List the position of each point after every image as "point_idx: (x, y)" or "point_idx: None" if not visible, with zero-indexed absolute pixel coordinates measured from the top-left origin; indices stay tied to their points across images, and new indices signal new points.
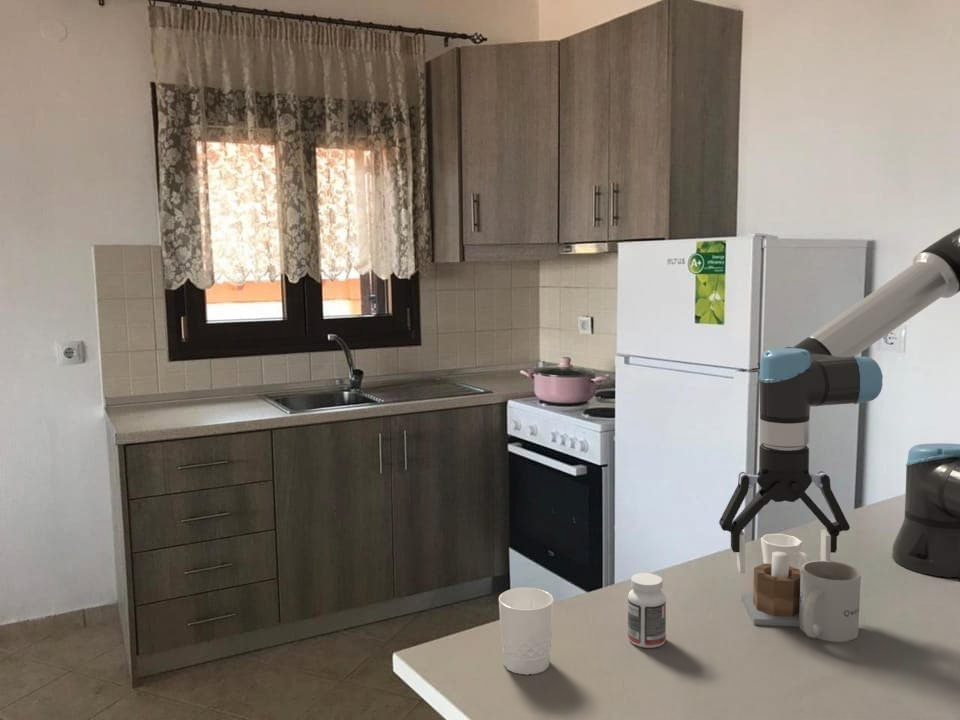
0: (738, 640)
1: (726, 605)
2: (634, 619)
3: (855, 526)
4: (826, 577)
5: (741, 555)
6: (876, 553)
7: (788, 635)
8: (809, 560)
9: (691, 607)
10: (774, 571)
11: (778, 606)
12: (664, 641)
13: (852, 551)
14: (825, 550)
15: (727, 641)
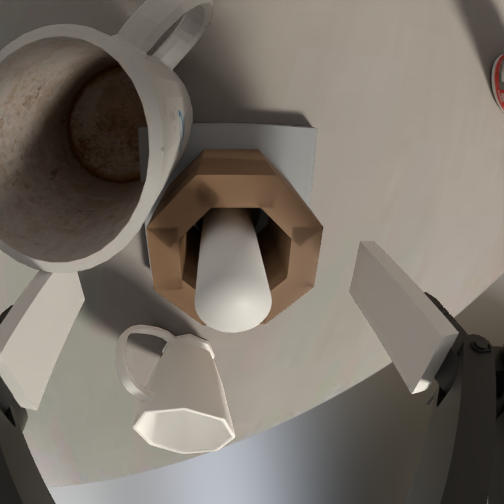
0: (369, 49)
1: (343, 234)
2: None
3: (79, 467)
4: (71, 228)
5: (405, 275)
6: (45, 422)
7: (237, 70)
8: (118, 368)
9: (416, 219)
10: (256, 247)
11: (247, 153)
12: (495, 63)
13: (72, 430)
14: (34, 303)
15: (393, 48)
